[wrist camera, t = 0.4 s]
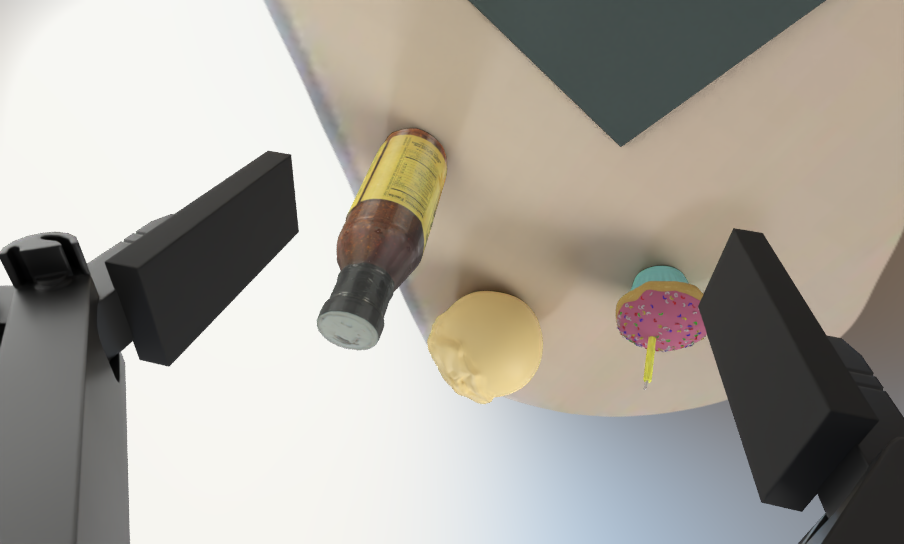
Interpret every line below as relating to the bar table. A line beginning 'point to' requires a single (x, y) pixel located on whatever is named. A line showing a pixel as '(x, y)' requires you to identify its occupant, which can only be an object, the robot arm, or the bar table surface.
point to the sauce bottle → (383, 236)
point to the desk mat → (638, 49)
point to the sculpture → (486, 345)
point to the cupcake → (660, 313)
